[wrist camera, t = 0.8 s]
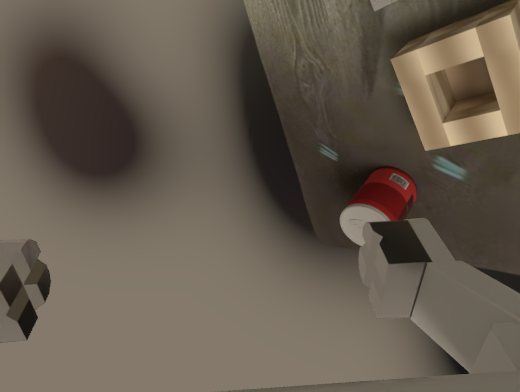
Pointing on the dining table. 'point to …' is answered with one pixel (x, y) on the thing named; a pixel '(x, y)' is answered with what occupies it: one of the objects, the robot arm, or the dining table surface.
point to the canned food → (378, 201)
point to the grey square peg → (380, 3)
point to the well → (464, 78)
